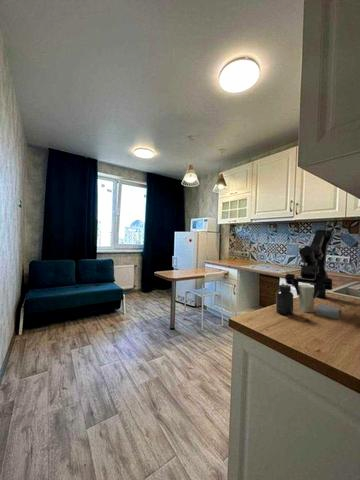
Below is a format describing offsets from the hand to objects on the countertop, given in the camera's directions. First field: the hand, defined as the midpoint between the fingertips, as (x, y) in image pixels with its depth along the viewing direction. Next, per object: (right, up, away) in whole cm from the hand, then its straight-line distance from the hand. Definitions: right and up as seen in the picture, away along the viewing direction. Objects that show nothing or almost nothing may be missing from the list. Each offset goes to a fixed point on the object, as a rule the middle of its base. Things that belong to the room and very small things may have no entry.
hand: (305, 296), depth 94 cm
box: (+1, -7, +1) cm, 7 cm away
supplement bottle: (-11, -7, -2) cm, 13 cm away
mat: (+10, -7, -1) cm, 12 cm away
